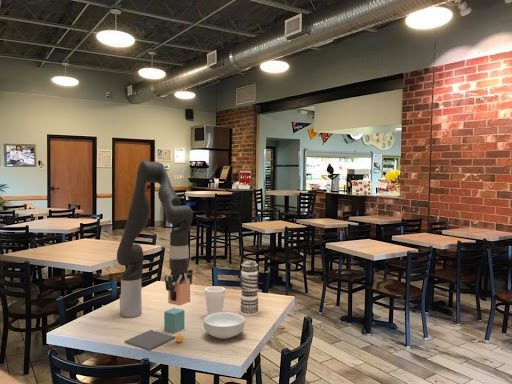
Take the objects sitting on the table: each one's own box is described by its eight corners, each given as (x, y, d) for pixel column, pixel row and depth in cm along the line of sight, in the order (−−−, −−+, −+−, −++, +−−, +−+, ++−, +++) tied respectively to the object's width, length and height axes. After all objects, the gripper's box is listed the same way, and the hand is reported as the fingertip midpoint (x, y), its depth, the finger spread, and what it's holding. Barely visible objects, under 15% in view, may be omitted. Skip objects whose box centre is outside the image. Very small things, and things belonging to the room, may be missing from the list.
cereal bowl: (210, 346, 159) (210, 328, 158) (198, 331, 174) (198, 315, 174) (251, 339, 165) (251, 322, 165) (236, 325, 181) (236, 309, 180)
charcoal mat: (124, 342, 162) (124, 341, 162) (150, 331, 174) (150, 329, 174) (149, 350, 154) (149, 349, 154) (175, 338, 166) (175, 336, 166)
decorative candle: (261, 310, 201) (261, 259, 200) (256, 316, 192) (256, 263, 191) (243, 308, 203) (243, 258, 202) (237, 315, 194) (237, 262, 193)
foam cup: (221, 320, 187) (221, 292, 186) (202, 319, 188) (202, 291, 188) (227, 313, 196) (227, 286, 195) (208, 312, 198) (208, 285, 197)
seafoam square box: (164, 330, 175) (164, 311, 175) (174, 325, 180) (174, 307, 180) (174, 332, 172) (174, 314, 172) (184, 328, 177) (184, 310, 177)
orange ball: (174, 342, 162) (174, 335, 162) (179, 339, 165) (179, 332, 164) (179, 344, 160) (179, 336, 160) (184, 341, 163) (184, 334, 163)
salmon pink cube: (168, 303, 161) (168, 282, 161) (178, 299, 166) (178, 279, 166) (179, 305, 158) (179, 285, 158) (190, 301, 163) (190, 281, 163)
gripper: (184, 252, 169) (184, 292, 170) (159, 258, 157) (159, 301, 158) (198, 254, 165) (198, 295, 166) (173, 260, 153) (173, 305, 154)
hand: (179, 298), depth 162 cm, fingers closed on salmon pink cube, 6 cm apart
